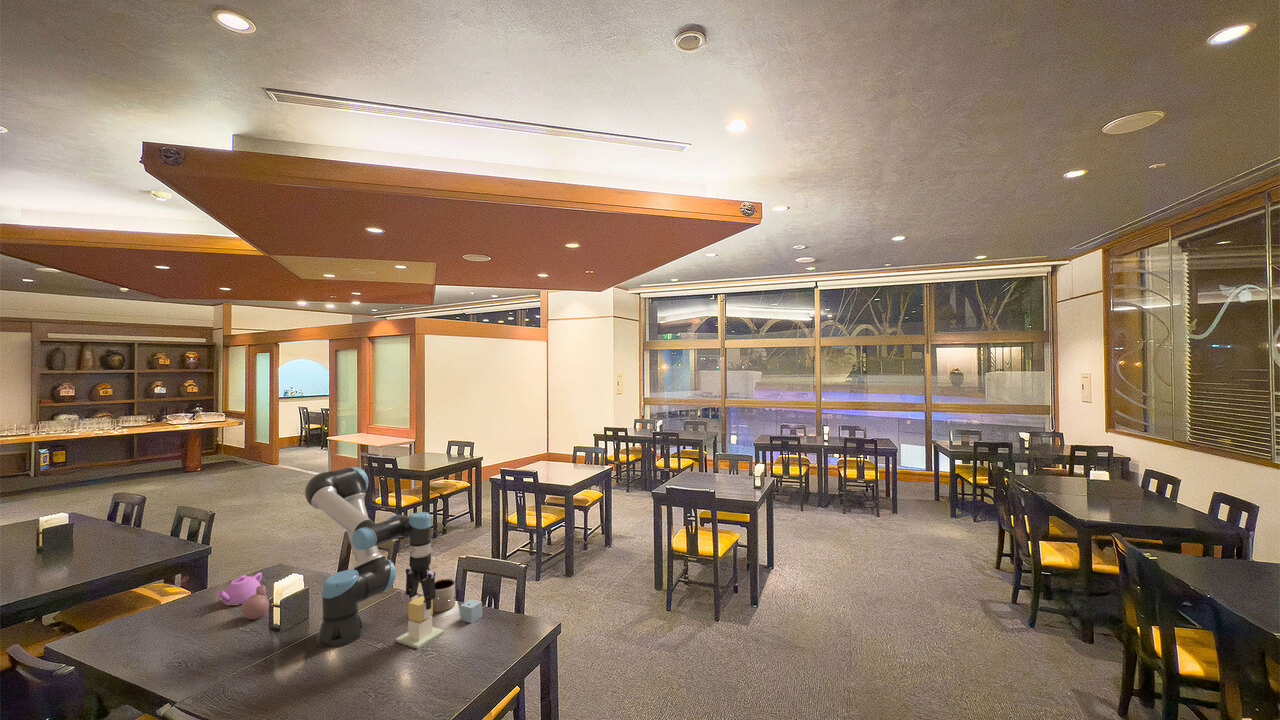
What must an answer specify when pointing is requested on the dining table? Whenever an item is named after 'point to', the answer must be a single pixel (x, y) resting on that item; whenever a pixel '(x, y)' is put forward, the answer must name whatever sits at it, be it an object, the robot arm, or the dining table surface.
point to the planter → (444, 595)
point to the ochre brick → (417, 609)
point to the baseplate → (419, 642)
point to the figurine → (256, 604)
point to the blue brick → (471, 611)
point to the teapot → (240, 589)
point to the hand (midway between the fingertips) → (420, 615)
